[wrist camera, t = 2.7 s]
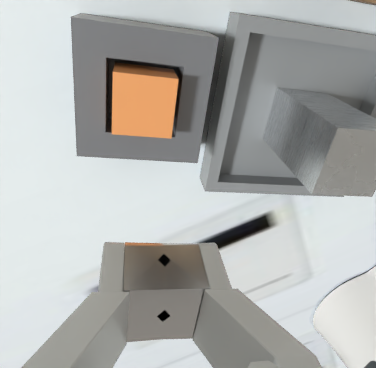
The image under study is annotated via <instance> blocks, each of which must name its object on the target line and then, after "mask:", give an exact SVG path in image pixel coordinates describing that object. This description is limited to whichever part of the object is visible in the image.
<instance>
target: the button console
mask: <svg viewBox="0 0 376 368" xmlns="http://www.w3.org/2000/svg"><path fill="white" fill-rule="evenodd" d="M71 31H72V54H73V77H74V101H75V124H76V148H77V156H85V157H102V158H120V159H137V160H154V161H171V162H188V163H198V157H199V151H200V145H201V140H202V134H203V128H204V122H205V116H206V111H207V105H208V99H209V93H210V87H211V82H212V76H213V70H214V64H215V58H216V53H217V47H218V41H219V38H218V37H216V36H214V35H212V34H211V33H209V32H207V31H200V30H193V29H186V28H179V27H172V26H165V25H158V24H151V23H144V22H138V21H131V20H124V19H117V18H110V17H103V16H96V15H89V14H82V13H80V14H77V15H75V16H72V17H71ZM115 62H116V63H125V64H133V65H142V66H150V67H159V68H167V69H174V71H175V73H176V75H177V77H178V79H179V80H178V88H177V97H176V105H175V113H174V121H173V130H172V138H171V139H170V138H156V137H142V136H128V135H115V134H112V84H113V69H114V65H115Z"/></svg>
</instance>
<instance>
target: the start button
mask: <svg viewBox="0 0 376 368" xmlns="http://www.w3.org/2000/svg"><path fill="white" fill-rule="evenodd" d="M178 80H179V79H178V77H177V75H176V73H175V71H174V69H167V68H159V67H150V66H142V65H133V64H125V63H116V62H115V65H114V69H113V84H112V134H115V135H128V136H142V137H156V138H170V139H171V138H172V130H173V121H174V113H175V105H176V97H177V88H178Z"/></svg>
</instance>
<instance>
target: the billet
mask: <svg viewBox="0 0 376 368" xmlns="http://www.w3.org/2000/svg"><path fill="white" fill-rule="evenodd" d="M263 140H264V141H265V142H266V143H267V144H268V146H269V147H270V148H271V149H272V150H273V151H274V152H275V153H276V155H277V156H278V157H279V158H280V159H281V160H282V161H283V162H284V164H285V165H286V166H287V167H288V168H289V169H290V170H291V172H292V173H293V174H294V175H295V176H296V177H297V178H298V179H299V181H300V182H301V183H302V184H303V185H304V186H305V187H306V188H307V190H308V191H309V192H310V193H311V194H321V195H346V196H370V197H372V196H373V194H374V192H375V190H376V119H375V118H373V117H371V116H370V115H368V114H366V113H364V112H362V111H360V110H358V109H356V108H354V107H352V106H350V105H348V104H346V103H344V102H343V101H341V100H339V99H337V98H335V97H333V96H331V95H329V94H327V93H321V92H312V91H304V90H295V89H286V88H277V89H276V92H275V96H274V99H273V103H272V107H271V110H270V114H269V117H268V121H267V125H266V128H265V132H264V135H263Z"/></svg>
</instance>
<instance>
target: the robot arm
mask: <svg viewBox="0 0 376 368" xmlns="http://www.w3.org/2000/svg"><path fill="white" fill-rule="evenodd" d="M313 325H314V328H315V330H316V331H317V332H318V333H319V334H320V335H321V336H322V337H323V338H324V339H325V340H326V341H327V343H328V344H329V345H330V346H331V347H332V349H333V350H334V351H335V352H336V354H337V355H338V356H339V358H340V359H341V360H342V362H343V363H344V364H345V366H346V367H347V368H376V266H375V267H374V268H372V269H371V270H370V271H368V272H367V273H365V274H363V275H361V276H358V277H356V278H354V279H352V280H349V281H348V282H346V283H344V284H342V285H341V286H339V287H338V288H336V289H335V290H333V291H332V292H331V293H330V294H329V295H327V296H326V297H325V298H324V300H323V301H322V302H321V303H320V304H319V306H318V307H317V309H316V311H315V314H314V317H313ZM187 338H193V341H194V342H195V344H196V345H197V346H198V348H199V349H200V350H201V352H202V353H203V354H204V356H205V357H206V359H207V360H208V361H209V363H210V364H211V365H212V367H213V368H322V367H321V365H320V363H319V361H318V359H317V357H316V356H315V355H314V354H313V353H312V352H311V351H310V350H308V349H307V348H306V347H305V346H304V345H303V344H301V343H300V342H299V341H298V340H297V339H296V338H294V337H293V336H292V335H291V334H290V333H289V332H287V331H286V330H285V329H284V328H283V327H282V326H280V325H279V324H278V323H277V322H276V321H275V320H273V319H272V318H271V317H270V316H269V315H268V314H266V313H265V312H264V311H263V310H262V309H261V308H259V307H258V306H257V305H256V304H255V303H253V302H252V301H251V300H250V299H249V298H248V297H246V296H245V295H244V294H243V293H242V292H241V291H239V290H238V289H232V287H231V284H230V281H229V279H228V276H227V273H226V270H225V267H224V264H223V261H222V258H221V255H220V252H219V249H218V246H217V245H216V244H215V243H197V244H196V243H127V242H125V247H124V243H114V242H105V243H104V246H103V254H102V263H101V271H100V280H99V288H98V292H92V293H91V294H90V295H89V296H88V297H87V298H86V299H85V300H84V301H83V302H82V303H81V304H80V306H79V307H78V308H77V309H76V310H75V311H74V312H73V313H72V314H71V315H70V316H69V317H68V318H67V319H66V320H65V322H64V323H63V324H62V325H61V326H60V327H59V328H58V329H57V330H56V331H55V332H54V333H53V334H52V335H51V337H50V338H49V339H48V340H47V341H46V342H45V343H44V344H43V345H42V346H41V347H40V348H39V349H38V350H37V352H36V353H35V354H34V355H33V356H32V357H31V358H30V359H29V360H28V361H27V362H26V363H25V364H24V365H23V366H22V368H113V366H114V364H115V363H116V361H117V359H118V358H119V356H120V354H121V353H122V351H123V349H124V347H125V346H126V342H133V341H145V340H157V339H187Z"/></svg>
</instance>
